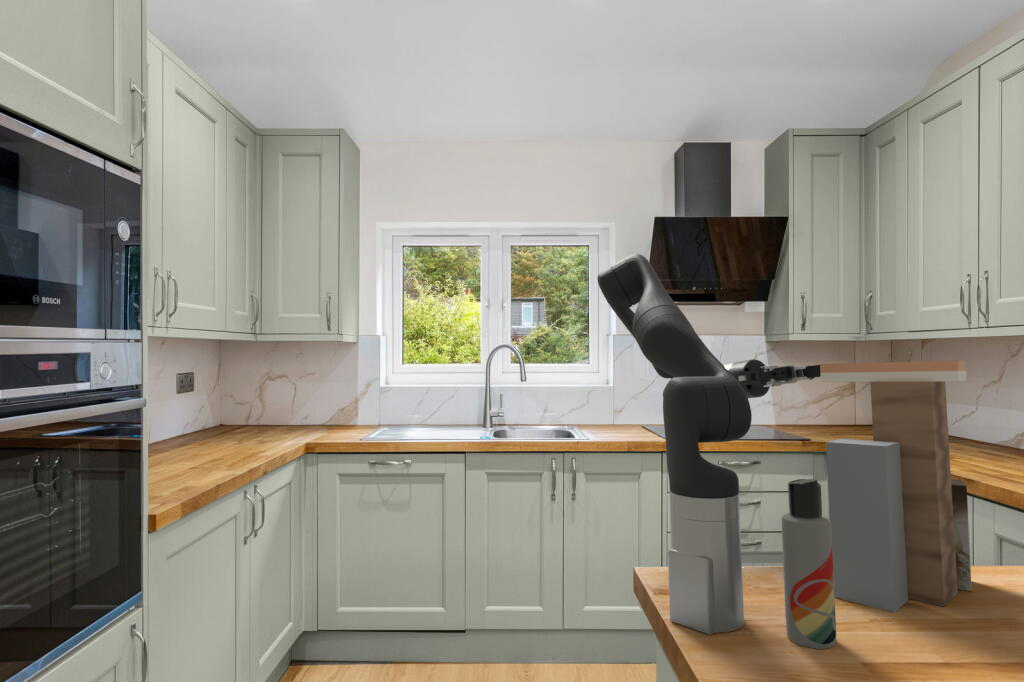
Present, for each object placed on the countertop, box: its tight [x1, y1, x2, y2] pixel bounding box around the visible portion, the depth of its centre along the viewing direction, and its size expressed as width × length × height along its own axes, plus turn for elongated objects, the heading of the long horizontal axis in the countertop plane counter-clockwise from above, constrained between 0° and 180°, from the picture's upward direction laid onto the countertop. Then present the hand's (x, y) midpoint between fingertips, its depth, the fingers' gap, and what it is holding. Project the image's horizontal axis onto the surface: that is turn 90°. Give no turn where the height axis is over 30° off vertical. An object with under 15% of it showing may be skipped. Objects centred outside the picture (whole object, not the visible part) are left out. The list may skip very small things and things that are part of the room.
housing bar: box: [819, 360, 967, 383], centre depth 93 cm, size 4×19×3 cm, turn 40°
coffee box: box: [951, 478, 973, 592], centre depth 95 cm, size 9×6×16 cm
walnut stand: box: [869, 381, 959, 607], centre depth 90 cm, size 7×8×32 cm
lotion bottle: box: [781, 478, 837, 650], centre depth 75 cm, size 6×6×20 cm
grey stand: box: [825, 438, 909, 613], centre depth 88 cm, size 6×8×23 cm
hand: (810, 370), depth 105 cm, fingers open, 8 cm apart
